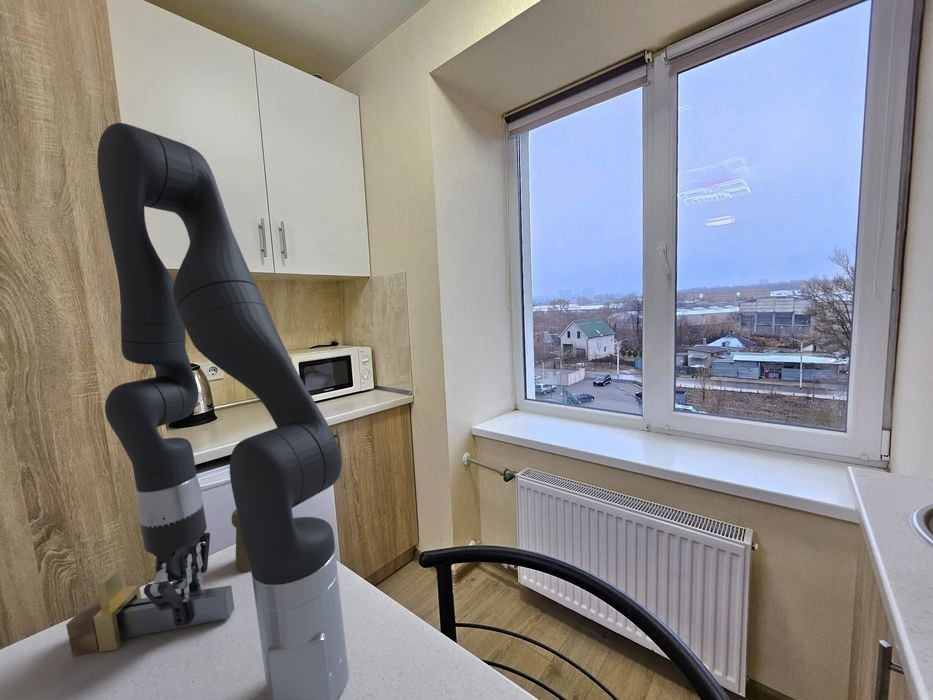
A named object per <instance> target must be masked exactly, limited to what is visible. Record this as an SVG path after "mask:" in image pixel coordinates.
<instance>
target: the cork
mask: <svg viewBox="0 0 933 700" xmlns="http://www.w3.org/2000/svg"><path fill="white" fill-rule="evenodd" d="M231 524H232V526H233V527H234V528H235V529H236V530H235V570H236V571H237V572H240V573H249V572H251V567H250V562H249V559H248V556H247V554H246V550H245V548H244V545H243V541H242V536H241V530H240V524H239V519H238V514H237V509H236V508H235V510H234V511H233V512H232V515H231ZM248 571H249V572H248Z"/></svg>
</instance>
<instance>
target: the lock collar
mask: <svg viewBox="0 0 933 700" xmlns="http://www.w3.org/2000/svg"><path fill="white" fill-rule="evenodd" d="M121 576H122V575H121V571H120V568H116V569H112V570H110V571H109V572H108V573H107V574H106V575H105V576H104V577H103V578H101V579H100V580H99V581H98V582H97V583H96V588H97V593H98V598H99V599H100V605H101V610H100V611H99V612H98V613H97V614H96V615H95V616H94V617H93V618H94V624H95V629H96V634H97V639H98V645H99V653H102V652H109V651H114V650H118V649H119V648H120V646H122V639H120V634H119V629H118V623H117V618H116V615H117V614H118V613H119V612H120V611H121V609H122V608H123V607H124V606H125V605H126V604H127V603H128V602H129V601H130V600H135V599H142V594H141V588H140V584H137V585H130V586H124V587H123V580H122V577H121Z"/></svg>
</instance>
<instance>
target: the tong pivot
mask: <svg viewBox="0 0 933 700" xmlns="http://www.w3.org/2000/svg"><path fill="white" fill-rule="evenodd" d="M100 610H101V605H100V599H99V597H94V598H93V599H91V601H89V602H88V603H87V604H86V605H85V606H84V607H83V608H82V609H81V610H80V611H79V612H78V613H77V614H75V615H74V616H73V618H72V619H70V620H69V621H68V622H67V623H66V624H65V625H66V631H67V636H68V639H69V640H68V641H69V644H70V650H71V656H72V657H77V656H82V655H83V656H84V655H88V654H94V653H99V652H100V650H99V645H98V639H97V634H96V629H95V624H94V618H93V617H94V616H95V615H96V614H97V613H98V612H99V611H100Z"/></svg>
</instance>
